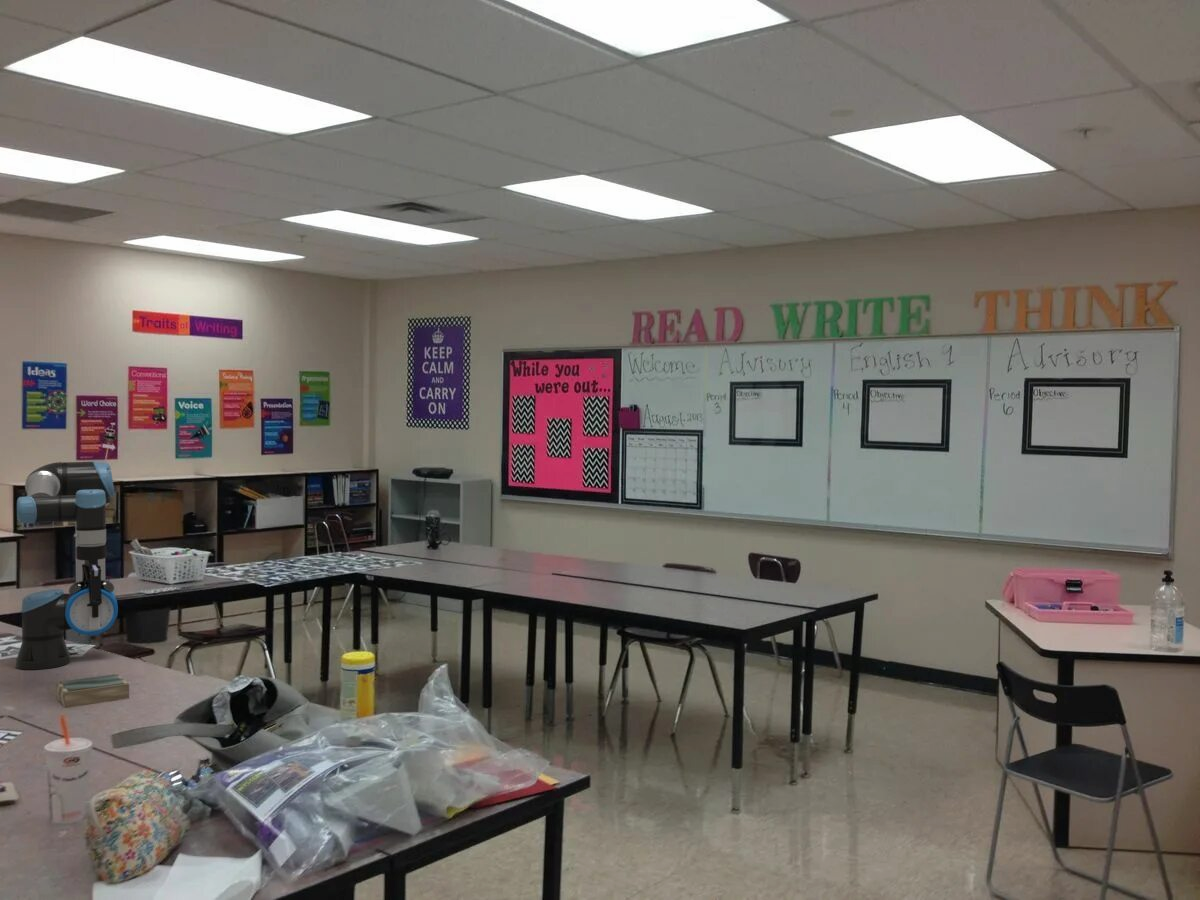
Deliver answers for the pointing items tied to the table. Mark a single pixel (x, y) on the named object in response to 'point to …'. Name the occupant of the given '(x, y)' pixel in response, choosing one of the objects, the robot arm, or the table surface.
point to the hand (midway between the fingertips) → (92, 626)
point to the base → (92, 690)
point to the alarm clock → (80, 612)
